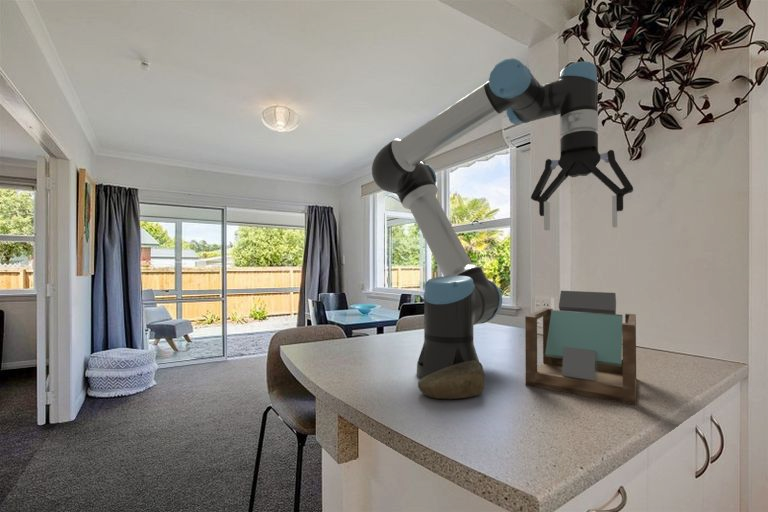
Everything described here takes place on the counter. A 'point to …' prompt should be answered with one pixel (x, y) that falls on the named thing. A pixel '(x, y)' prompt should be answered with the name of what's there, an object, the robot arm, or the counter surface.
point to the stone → (454, 381)
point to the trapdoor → (586, 326)
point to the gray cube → (580, 363)
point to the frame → (609, 384)
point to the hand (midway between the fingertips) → (579, 228)
